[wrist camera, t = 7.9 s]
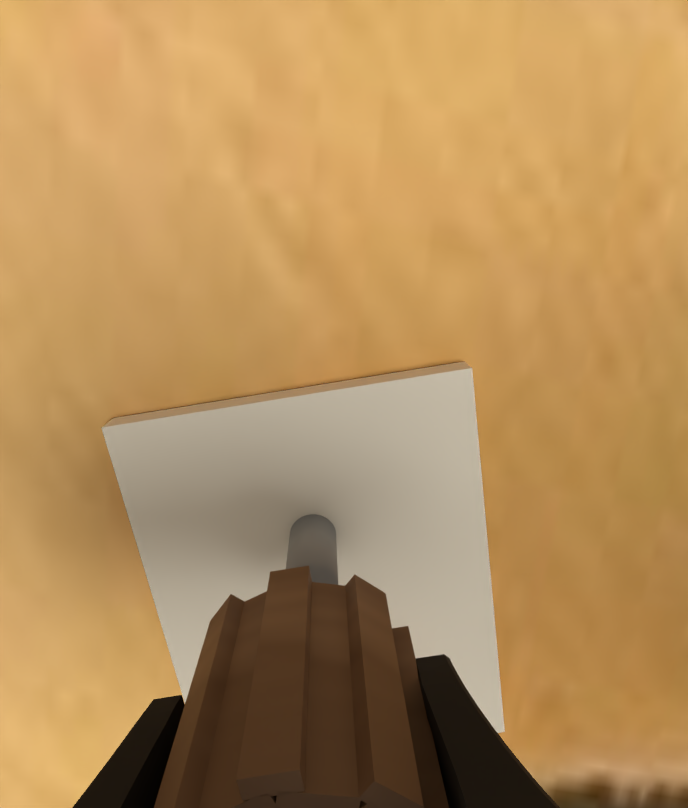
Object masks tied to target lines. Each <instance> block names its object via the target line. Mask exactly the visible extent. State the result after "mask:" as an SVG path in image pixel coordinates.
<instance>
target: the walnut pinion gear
mask: <svg viewBox="0 0 688 808" xmlns="http://www.w3.org/2000/svg"><path fill="white" fill-rule="evenodd" d="M154 808H449V806H448V801H447V797H446V793H445V788H444V784H443V779H442V775H441V770H440V766H439V761H438V757H437V752H436V748H435V743H434V739H433V734H432V731H431V728H430V725H429V722H428V719H427V715H426V710H425V706H424V701H423V696H422V692H421V687H420V683H419V678H418V671H417V664H416V658H415V654H414V649H413V645H412V640H411V636H410V631H409V627H408V626H404V627H398V628H392V626H391V621H390V615H389V609H388V604H387V598H386V593H384V592H383V591H381V590H380V589H378V588H376V587H375V586H373V585H371V584H370V583H368V582H367V581H365V580H363V579H362V578H360V577H358V576H357V575H355V574H354V576H353V577H352V578H351V579H350V580H349V582H348V583H347V584H346V585H345V586H344V585H335V584H327V583H318V582H312V578H311V573H310V568H309V566H303V567H296V568H290V569H284V570H277V571H271V572H270V576H269V582H268V588H267V591H266V592H264V593H262V594H260V595H258V596H255V597H253V598H251V599H249V600H247V601H243V600H241V599H239V598H238V597H236V596H234V595H232V594H230V596H229V597H228V598H227V600H226V601H225V602H224V603H223V605H222V606H221V607H220V609H219V610H218V611H217V613H216V614H215V615H214V616H213V618H212V619H211V620H210V623H209V626H208V630H207V633H206V636H205V639H204V643H203V646H202V649H201V653H200V656H199V659H198V663H197V666H196V669H195V673H194V676H193V679H192V683H191V686H190V689H189V693H188V696H187V699H186V702H185V706H184V709H183V712H182V716H181V719H180V722H179V726H178V729H177V732H176V736H175V739H174V742H173V746H172V749H171V752H170V756H169V759H168V762H167V765H166V769H165V772H164V775H163V779H162V782H161V785H160V789H159V792H158V795H157V799H156V802H155V805H154Z"/></svg>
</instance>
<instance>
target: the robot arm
mask: <svg viewBox="0 0 688 808" xmlns="http://www.w3.org/2000/svg"><path fill="white" fill-rule="evenodd" d="M416 664H417V671H418V678H419V683H420V687H421V692H422V696H423V701H424V706H425V710H426V715H427V719H428V722H429V725H430V728H431V731H432V734H433V739H434V743H435V748H436V752H437V757H438V761H439V766H440V770H441V775H442V779H443V784H444V788H445V793H446V797H447V801H448V806H449V808H560V807H559V806H558V805H557V804H556V803H555V802H554V801H553V800H552V799H551V798H550V796H549V795H548V794H547V793H546V792H545V791H544V790H543V789H542V787H541V786H540V785H539V784H538V783H537V782H536V780H535V779H534V778H533V777H532V776H531V775H530V773H529V772H528V771H527V770H526V769H525V767H524V766H523V765H522V764H521V763H520V761H519V760H518V759H517V758H516V756H515V755H514V754H513V753H512V751H511V750H510V749H509V748H508V746H507V745H506V744H505V743H504V741H503V740H502V738H501V737H500V736H499V734H498V733H497V732H496V730H495V729H494V728H493V726H492V725H491V724H490V722H489V721H488V720H487V718H486V717H485V715H484V714H483V713H482V711H481V710H480V708H479V707H478V705H477V704H476V702H475V701H474V699H473V698H472V696H471V695H470V693H469V692H468V690H467V689H466V687H465V685H464V684H463V682H462V680H461V679H460V677H459V675H458V674H457V672H456V670H455V668H454V666H453V664H452V662H451V660H450V658H449V657H447V656H446V655H444V654H441V655H435V656H429V657H422V658H416ZM184 706H185V705H184V702H183V698H182V695H179V696H173V697H166V698H160V699H154V700H153V701H152V702H151V704H150V705H149V706H148V708H147V709H146V710H145V712H144V713H143V714H142V716H141V717H140V718H139V720H138V721H137V722H136V724H135V725H134V727H133V728H132V729H131V731H130V732H129V733H128V735H127V736H126V737H125V739H124V740H123V742H122V743H121V744H120V746H119V747H118V748H117V750H116V751H115V752H114V754H113V755H112V756H111V758H110V759H109V761H108V762H107V763H106V765H105V766H104V767H103V769H102V770H101V771H100V772H99V774H98V775H97V776H96V778H95V779H94V780H93V782H92V783H91V784H90V786H89V787H88V788H87V790H86V791H85V792H84V793H83V795H82V796H81V797H80V799H79V800H78V801H77V803H76V804H75V805H74V806H73V808H154V805H155V802H156V799H157V795H158V792H159V789H160V785H161V782H162V779H163V775H164V772H165V769H166V765H167V762H168V759H169V756H170V752H171V749H172V746H173V742H174V739H175V736H176V732H177V729H178V726H179V722H180V719H181V716H182V712H183V709H184Z"/></svg>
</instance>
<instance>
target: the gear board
mask: <svg viewBox="0 0 688 808" xmlns="http://www.w3.org/2000/svg"><path fill="white" fill-rule="evenodd" d="M102 431H103V435H104V438H105V441H106V445H107V448H108V451H109V454H110V458H111V461H112V464H113V468H114V471H115V474H116V478H117V481H118V484H119V487H120V491H121V494H122V497H123V501H124V504H125V507H126V511H127V514H128V517H129V520H130V524H131V527H132V530H133V534H134V537H135V540H136V543H137V547H138V550H139V553H140V557H141V560H142V563H143V567H144V570H145V573H146V576H147V580H148V583H149V586H150V590H151V593H152V596H153V600H154V603H155V606H156V609H157V613H158V616H159V619H160V623H161V626H162V629H163V632H164V636H165V639H166V642H167V646H168V649H169V652H170V656H171V659H172V662H173V665H174V669H175V672H176V675H177V679H178V682H179V685H180V689H181V692H182V695H183V698H184V702H186V699H187V696H188V693H189V689H190V686H191V683H192V679H193V676H194V673H195V669H196V666H197V663H198V659H199V656H200V653H201V649H202V646H203V643H204V639H205V636H206V633H207V630H208V626H209V623H210V620H211V619H212V618H213V616H214V615H215V614H216V613H217V611H218V610H219V609H220V607H221V606H222V605H223V603H224V602H225V601H226V600H227V598H228V597H229V596H230V594H232V595H234V596H236V597H238V598H239V599H241V600H243V601H247V600H249V599H251V598H253V597H255V596H258V595H260V594H262V593H264V592H266V591H267V588H268V582H269V576H270V572H271V571H277V570H284V569H290V568H296V567H303V566H309V568H310V573H311V578H312V582H318V583H327V584H335V585H344V586H345V585H346V584H347V583H348V582H349V580H350V579H351V578H352V577H353V576H354V574H355V575H357V576H358V577H360V578H362V579H363V580H365V581H367V582H368V583H370V584H371V585H373V586H375V587H376V588H378V589H380V590H381V591H383V592H384V593H386V598H387V604H388V609H389V615H390V621H391V626H392V628H398V627H404V626H408V627H409V631H410V636H411V640H412V645H413V649H414V654H415V658H422V657H429V656H435V655H441V654H444V655H446V656H447V657H449V658H450V660H451V662H452V664H453V666H454V668H455V670H456V672H457V674H458V675H459V677H460V679H461V680H462V682H463V684H464V685H465V687H466V689H467V690H468V692H469V693H470V695H471V696H472V698H473V699H474V701H475V702H476V704H477V705H478V707H479V708H480V710H481V711H482V713H483V714H484V715H485V717H486V718H487V720H488V721H489V722H490V724H491V725H492V726H493V728H494V729H495V730H496V732H497V733H501V732H505V729H504V718H503V707H502V695H501V684H500V673H499V662H498V651H497V640H496V629H495V617H494V606H493V595H492V584H491V573H490V562H489V551H488V540H487V528H486V517H485V506H484V495H483V484H482V473H481V462H480V450H479V439H478V428H477V417H476V406H475V395H474V384H473V372H472V367H470V366H469V365H468V364H467V363H465V362H458V363H452V364H445V365H439V366H433V367H427V368H421V369H414V370H408V371H402V372H396V373H390V374H383V375H377V376H371V377H365V378H358V379H352V380H346V381H340V382H334V383H327V384H321V385H315V386H309V387H303V388H296V389H290V390H284V391H278V392H272V393H265V394H259V395H253V396H247V397H241V398H234V399H228V400H222V401H216V402H210V403H203V404H197V405H191V406H185V407H179V408H172V409H166V410H160V411H154V412H148V413H141V414H135V415H129V416H123V417H116V418H113V419H111V420H110V421H109V422H108V423H106V424H105V425H104V426H103V427H102Z"/></svg>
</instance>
